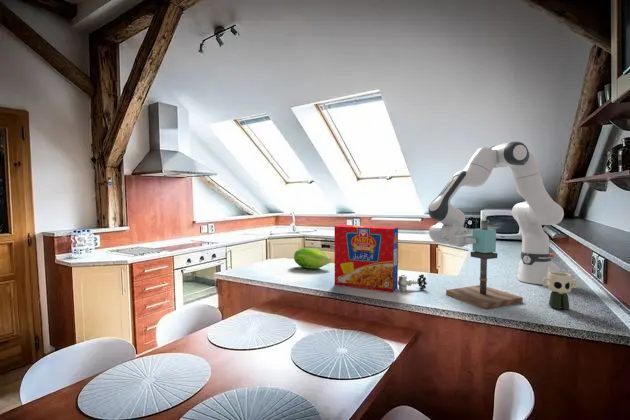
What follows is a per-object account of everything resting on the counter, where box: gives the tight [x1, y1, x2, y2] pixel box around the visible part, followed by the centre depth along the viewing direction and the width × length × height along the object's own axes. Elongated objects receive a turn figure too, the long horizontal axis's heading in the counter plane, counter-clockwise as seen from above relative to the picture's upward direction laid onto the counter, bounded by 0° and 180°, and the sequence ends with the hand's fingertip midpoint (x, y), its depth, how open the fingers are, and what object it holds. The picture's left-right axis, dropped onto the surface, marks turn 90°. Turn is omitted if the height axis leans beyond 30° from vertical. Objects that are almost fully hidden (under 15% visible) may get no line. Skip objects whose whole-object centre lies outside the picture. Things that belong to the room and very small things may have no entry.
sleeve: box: [471, 228, 497, 253], centre depth 140 cm, size 6×6×9 cm
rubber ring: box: [470, 251, 498, 260], centre depth 140 cm, size 7×7×2 cm
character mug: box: [542, 271, 578, 310], centre depth 128 cm, size 11×7×13 cm, turn 74°
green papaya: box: [293, 247, 332, 270], centre depth 198 cm, size 13×23×12 cm, turn 64°
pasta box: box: [334, 224, 399, 293], centre depth 159 cm, size 28×8×28 cm, turn 62°
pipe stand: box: [445, 220, 524, 310], centre depth 140 cm, size 20×20×32 cm
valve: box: [398, 274, 428, 292], centre depth 154 cm, size 7×7×12 cm
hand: (485, 240), depth 139 cm, fingers open, 8 cm apart
